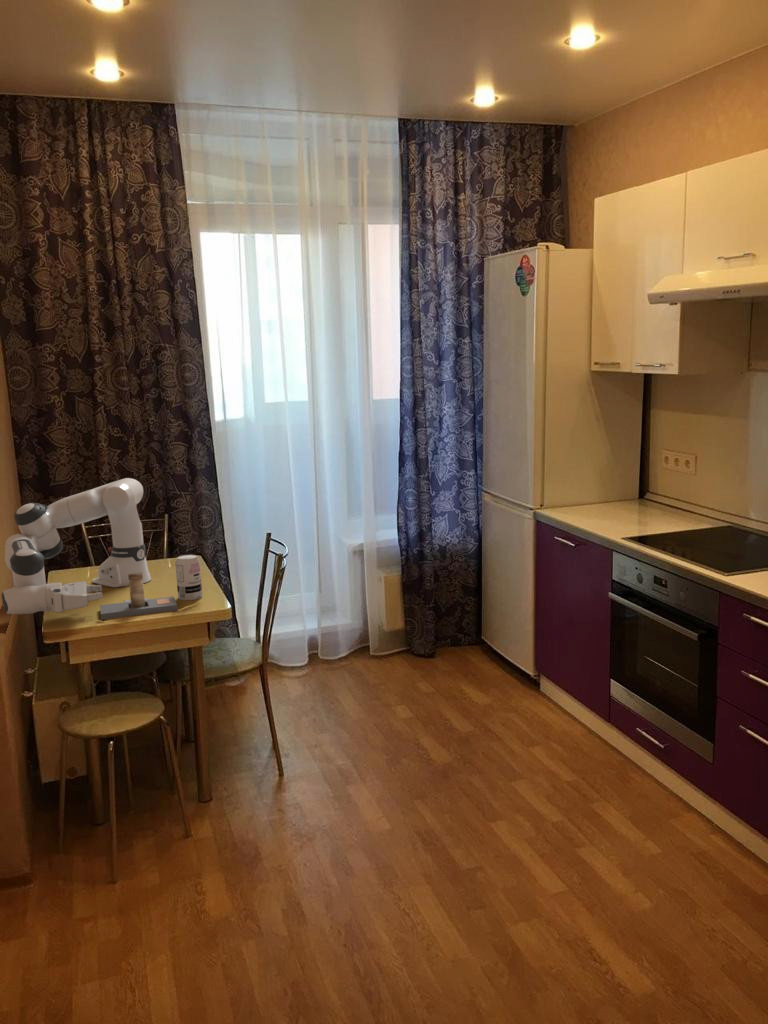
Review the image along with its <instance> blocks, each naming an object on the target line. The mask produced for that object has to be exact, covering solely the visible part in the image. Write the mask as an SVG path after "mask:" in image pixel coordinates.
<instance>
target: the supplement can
mask: <svg viewBox="0 0 768 1024" xmlns="http://www.w3.org/2000/svg"><path fill="white" fill-rule="evenodd" d="M174 565H175V575H176V587H177V599H178V600H180V601H193V600H194V601H195V600H199V599H201V598H203V585H202V572H201V571H202V570H201V561H200V558H199V556H198V555H196V554H184V555H179V556H177V557H176V559H175V564H174Z"/></svg>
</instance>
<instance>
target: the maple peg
mask: <svg viewBox="0 0 768 1024" xmlns="http://www.w3.org/2000/svg"><path fill="white" fill-rule="evenodd" d="M128 578H129V585H128V586H129V595H130V600H131V608H138V607H145V599H144V598H145V591H144V590H145V589H144V583H143V575H142V573H141V572H135V573H130V574H128Z"/></svg>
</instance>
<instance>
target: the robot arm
mask: <svg viewBox="0 0 768 1024" xmlns="http://www.w3.org/2000/svg"><path fill="white" fill-rule="evenodd" d="M143 496H144V486H143V485H142V483H141V482H140V481H138V480H137V479H135V478H132V477H125V478H122V479H118V480H116V481H115V480H114V481H111V482H109V483H106V484H104V485H100V486H98V487H94V488H92V489H88V490H85V491H82V492H79V493H76V494H73V495H72V494H71V495H70V496H67V497H63V498H61V499H59V500H57V501H54V502H52V503H51V504H48V505H47V504H44V503H43V504H41V503H38V502H28V503H26V504H24V505H21V506H20V507H19V508H18V509H16V510H15V512H14V514H13V518H14V522H15V524H16V525H17V526H18V529H19V532H20V533H16V534H13V535H11V536H9V537H8V538H7V539H6V541H5V543H6V545H5V544H4V546H5V558H4V561H5V564H6V567H7V568H8V569H9V570H10V571H11V573H12V578H13V579H12V581H13V587H11V588H7V589H5V590H4V589H3V590H2V593H1V601H2V606H3V607H2V608H3V610H4V612H5V613H6V614H7V615H26V614H28V615H29V614H35V613H37V612H55V613H63V612H64V610H65V611H68V610H69V611H70V610H73V609H75V610H76V609H80V608H85V607H86V606H88V602H92V601H94V600H99V599H103V598H104V597H103V592H102V591H103V588H102V586H106V587H111V588H119V587H127V586H129V578H128V574H130V573H135V572H141V573H142V575H143V584H145V583H148V582H150V581H151V580H152V577H151V574H150V572H149V566H148V562H147V557H146V545H145V544H146V543H144V534H143V523H142V522H141V520H140V516H139V512H138V508H137V505H138V504H139V503H140V502H141V501H142V499H143ZM106 516H108V520H109V522H110V528H111V529H110V530H111V538H112V547H108V548H107V549H108V552H110V554H109V557H107V558H106V559H105V561H103V562H102V563H101V564H100V565H99V567H98V575H97V577H95V578H93V579H92V581H91V583H94V584H87V581H81V580H80V581H75V582H69V583H65V584H62V582H60V581H59V582H52V583H51V582H50V583H47V581H46V574H45V560H48V559H52V558H55V557H56V556H58V555H59V554H60V553H61V552H62V550H63V549H64V543H63V540H62V538H61V537H60V534H59V532H58V529H64V528H68V527H74V526H78V525H82V524H84V523H87V522H90V521H93V520H97V519H100V518H102V517H106ZM96 584H97V585H96ZM91 592H92V593H91ZM93 592H95V593H93Z"/></svg>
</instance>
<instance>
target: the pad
mask: <svg viewBox="0 0 768 1024" xmlns="http://www.w3.org/2000/svg"><path fill="white" fill-rule="evenodd" d="M144 599H145V600H149V597H144ZM123 601H124V602H131V599H127V600H126V599H125V600H123Z"/></svg>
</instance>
